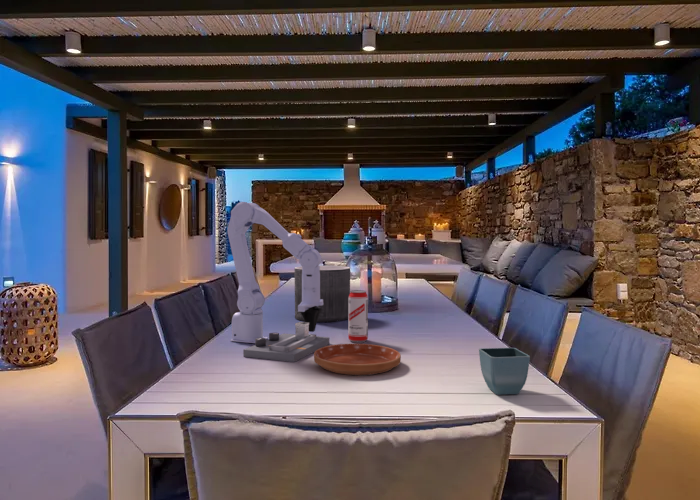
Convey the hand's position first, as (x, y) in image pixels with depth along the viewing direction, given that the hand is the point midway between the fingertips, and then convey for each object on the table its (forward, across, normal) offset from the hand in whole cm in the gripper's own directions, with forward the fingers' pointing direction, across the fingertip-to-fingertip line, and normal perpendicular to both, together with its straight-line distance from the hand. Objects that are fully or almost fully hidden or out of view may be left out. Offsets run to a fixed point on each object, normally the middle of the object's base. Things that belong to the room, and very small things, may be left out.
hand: (310, 331), depth 168 cm
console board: (+4, -11, +2) cm, 12 cm away
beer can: (+4, +8, -13) cm, 16 cm away
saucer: (+4, -20, -23) cm, 31 cm away
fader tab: (+1, -6, 0) cm, 6 cm away
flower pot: (+4, -29, -61) cm, 68 cm away
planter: (+4, +43, +15) cm, 45 cm away
